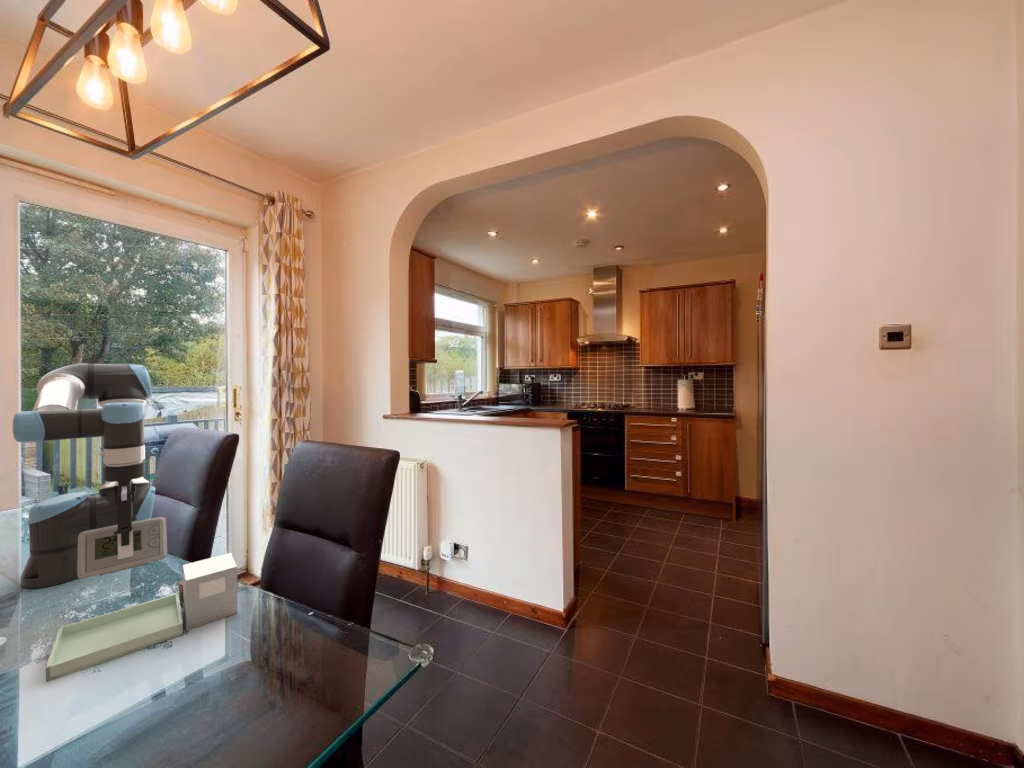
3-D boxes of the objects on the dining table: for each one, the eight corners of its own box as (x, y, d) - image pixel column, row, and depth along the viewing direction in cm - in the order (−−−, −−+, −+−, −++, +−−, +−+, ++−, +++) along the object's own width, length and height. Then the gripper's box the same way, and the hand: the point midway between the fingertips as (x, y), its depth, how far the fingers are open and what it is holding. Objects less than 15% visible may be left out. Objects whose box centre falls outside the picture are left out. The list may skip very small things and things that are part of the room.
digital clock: (72, 583, 91) (70, 537, 91) (87, 567, 99) (86, 525, 98) (163, 565, 99) (162, 523, 99) (171, 551, 107) (170, 513, 107)
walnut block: (179, 601, 104) (178, 582, 104) (201, 592, 108) (201, 574, 108) (186, 607, 101) (186, 588, 101) (209, 597, 105) (209, 579, 105)
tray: (59, 639, 88) (59, 627, 88) (178, 603, 103) (178, 592, 102) (45, 682, 76) (45, 668, 76) (182, 634, 90) (182, 622, 90)
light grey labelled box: (183, 610, 99) (182, 564, 99) (231, 595, 106) (230, 552, 106) (186, 630, 92) (185, 581, 91) (237, 613, 99) (237, 566, 98)
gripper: (106, 458, 103) (108, 544, 104) (99, 473, 89) (101, 571, 90) (145, 454, 108) (146, 536, 109) (144, 467, 94) (146, 561, 95)
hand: (126, 552), depth 100 cm, fingers closed on digital clock, 6 cm apart
